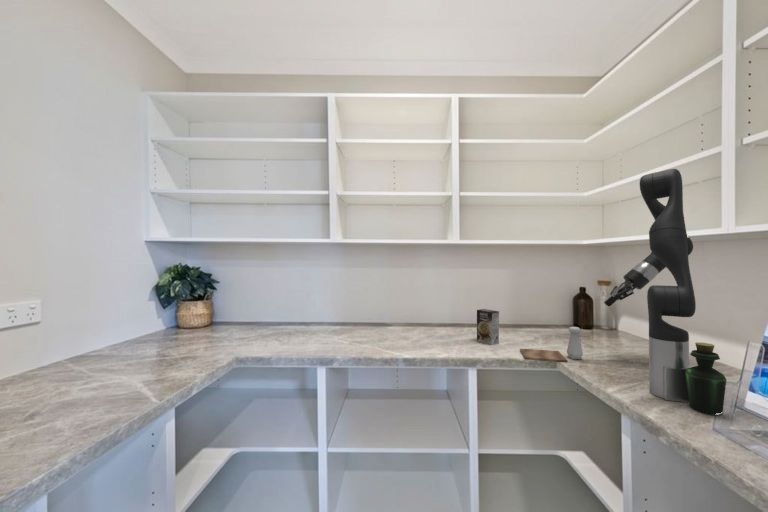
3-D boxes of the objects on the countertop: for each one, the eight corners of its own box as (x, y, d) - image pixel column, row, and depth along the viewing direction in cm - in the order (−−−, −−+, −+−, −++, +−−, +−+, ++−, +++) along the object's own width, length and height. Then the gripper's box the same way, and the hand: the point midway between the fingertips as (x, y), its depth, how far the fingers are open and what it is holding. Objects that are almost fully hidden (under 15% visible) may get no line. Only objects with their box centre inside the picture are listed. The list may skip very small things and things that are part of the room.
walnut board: (558, 352, 145) (558, 351, 145) (567, 362, 132) (567, 360, 132) (519, 350, 149) (519, 348, 149) (524, 359, 136) (524, 357, 136)
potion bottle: (681, 408, 90) (680, 343, 91) (689, 401, 95) (689, 339, 95) (723, 420, 84) (722, 349, 84) (730, 411, 88) (729, 345, 89)
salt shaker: (574, 360, 134) (574, 328, 134) (563, 356, 139) (563, 326, 139) (586, 359, 135) (585, 328, 135) (574, 355, 141) (574, 325, 141)
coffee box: (476, 341, 165) (476, 309, 165) (484, 339, 169) (483, 308, 169) (491, 345, 158) (491, 312, 158) (499, 343, 162) (499, 310, 162)
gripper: (625, 268, 138) (593, 296, 142) (641, 269, 126) (605, 300, 129) (640, 280, 137) (607, 309, 140) (657, 283, 124) (621, 314, 127)
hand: (606, 304), depth 134 cm, fingers closed
